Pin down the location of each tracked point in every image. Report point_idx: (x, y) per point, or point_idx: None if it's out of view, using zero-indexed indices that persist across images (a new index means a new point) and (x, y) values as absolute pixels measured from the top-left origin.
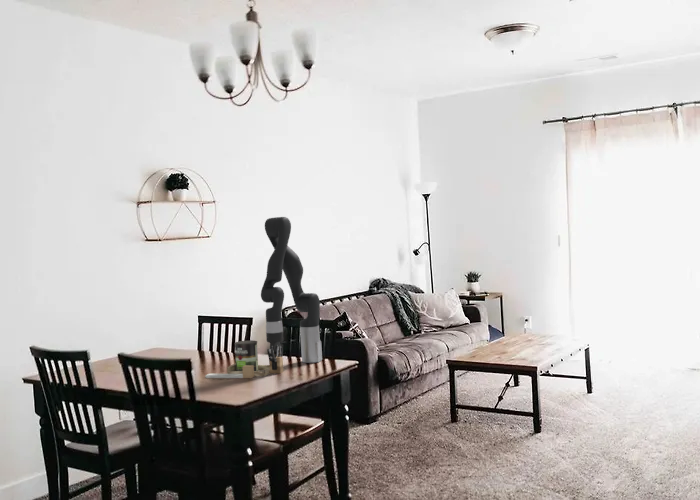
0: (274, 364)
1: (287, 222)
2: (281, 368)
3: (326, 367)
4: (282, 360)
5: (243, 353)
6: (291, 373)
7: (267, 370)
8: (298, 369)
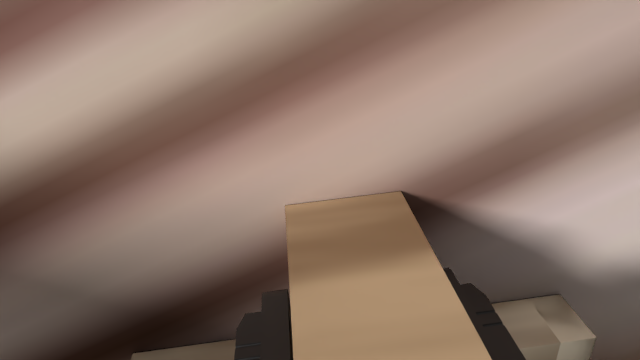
0: (514, 349)
1: None
2: (370, 235)
3: None
4: (315, 347)
5: None
6: (386, 15)
7: None
8: (13, 48)
